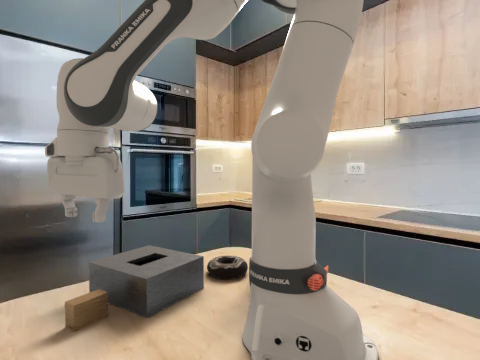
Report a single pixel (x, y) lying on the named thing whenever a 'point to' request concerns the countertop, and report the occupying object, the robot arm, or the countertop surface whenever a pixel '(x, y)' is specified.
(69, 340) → the countertop surface
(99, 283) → the post box
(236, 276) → the donut
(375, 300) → the countertop surface
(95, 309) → the brown wooden block
